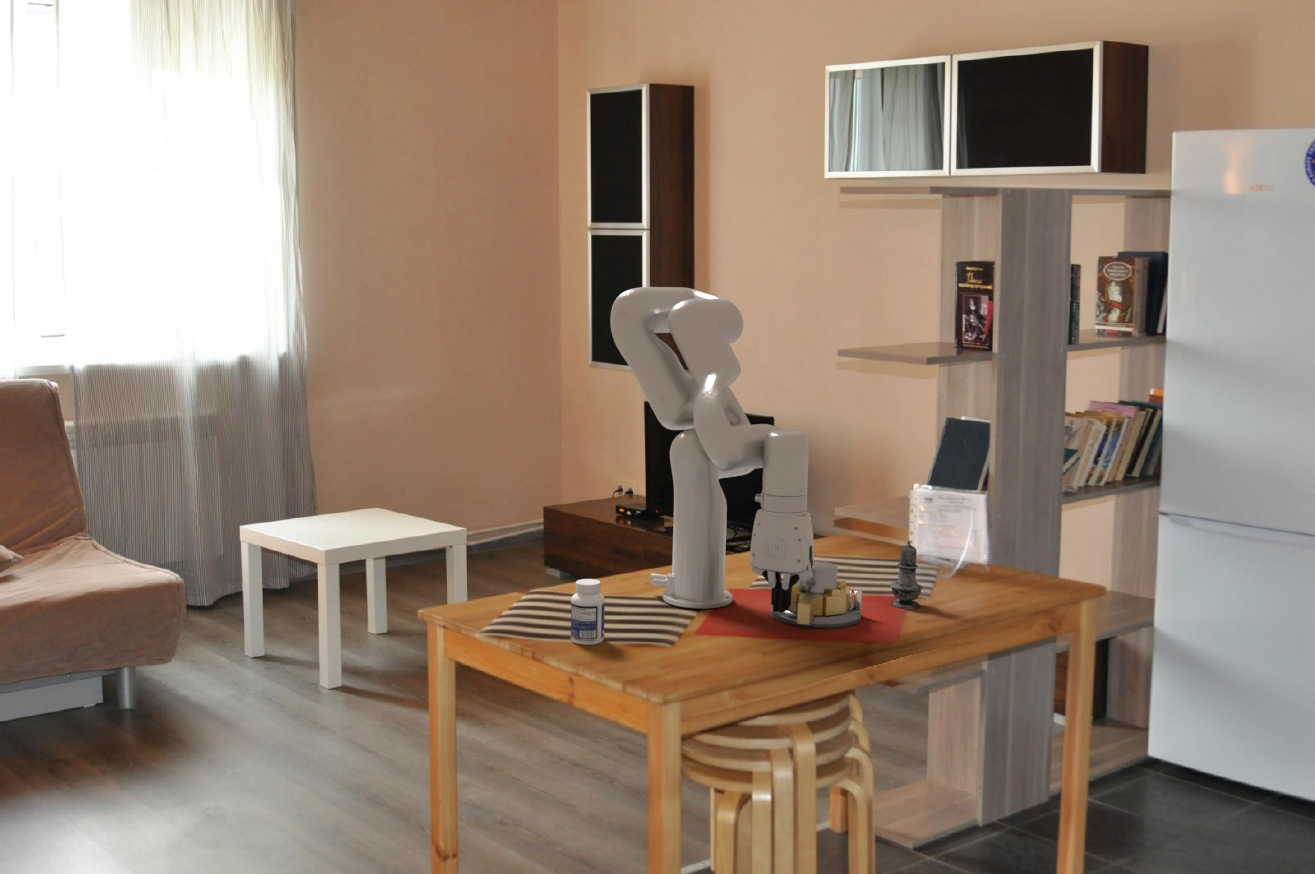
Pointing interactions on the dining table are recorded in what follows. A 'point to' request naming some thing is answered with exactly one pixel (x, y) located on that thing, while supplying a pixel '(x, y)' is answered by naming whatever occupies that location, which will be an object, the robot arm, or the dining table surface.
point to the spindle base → (819, 584)
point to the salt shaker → (906, 580)
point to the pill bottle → (587, 613)
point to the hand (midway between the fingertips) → (780, 610)
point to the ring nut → (820, 602)
